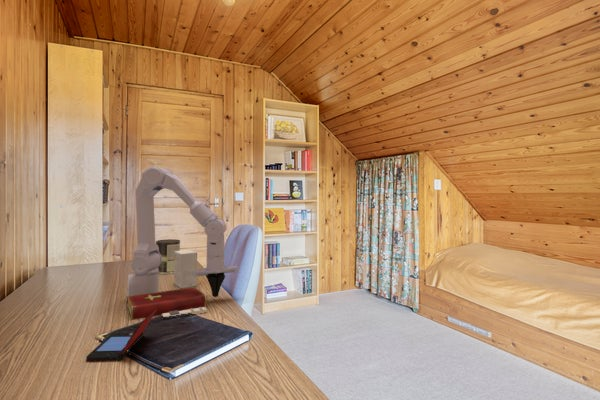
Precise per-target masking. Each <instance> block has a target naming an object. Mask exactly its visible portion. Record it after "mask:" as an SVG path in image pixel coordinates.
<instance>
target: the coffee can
mask: <svg viewBox="0 0 600 400" xmlns="http://www.w3.org/2000/svg"><path fill="white" fill-rule="evenodd" d="M155 243H156V244H157V245H158V247H159V253H160V254H161V257H162V262H161V264H160V266H159V267H158V270H159V275H171V274H174V251H181V250H180V249H181V248H180V246H181V244H180V243H181V240H180V239H176V238H175V239H172V238H171V239H167V238H165V239H159V240H155Z"/></svg>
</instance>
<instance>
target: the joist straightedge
mask: <svg viewBox="0 0 600 400" xmlns="http://www.w3.org/2000/svg"><path fill="white" fill-rule="evenodd" d="M204 312H208V309H207V307H199V308H195V309H192V308H190V309H188V310H182V311H178V310H176V311H169V313H163V314H162V315H161V316H163V317H169V316H176V315H181V314H188V313H192V314H196V315H201V314H200V313H202V314H205V313H204Z"/></svg>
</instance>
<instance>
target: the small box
mask: <svg viewBox="0 0 600 400" xmlns="http://www.w3.org/2000/svg"><path fill="white" fill-rule="evenodd" d="M192 270H198V252H197V251H194V250H191V249H185V250H180V251H174V273H173V285H175V286H176V287H178V288H179V289H184V288H191V287H197V285H198V276H197V277H193V276H192Z"/></svg>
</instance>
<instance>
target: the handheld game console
mask: <svg viewBox="0 0 600 400" xmlns="http://www.w3.org/2000/svg"><path fill="white" fill-rule="evenodd" d="M156 310H157V308H155V309H154V310H153V311H152V312H151V313H150V314H149V315H148V316H147V317H145V318H143V320H142V321H141V322H140V324H138V325H137V326H136V328H135V329H134V331H133V332H114V333H111V334H110V335H109V336H108V337H107V338H105V340H103V341H102V342H100V343H99V345H97V346H96V347H95V348H94V349H93V350H91V351H90V353H89V354H88V355H86V357H85V360H86V362H88V361H89V362H90V363H91V362H94V361H95V362H121V361H123V360H124V359H125V357H126V356H127V355H128V354H127V350H128V349H129V348H130V347H131V346H132V345H133V344H134V343H135V342H136V341H137V340H138V339H139V338H140V337H141V336H142V335H143V334H144V331H145V330H146V329H147V326H148V324H150V322H151V320H152V319H153V317H154V316H153V315H154V314H155V312H156ZM143 336H144V335H143Z"/></svg>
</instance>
